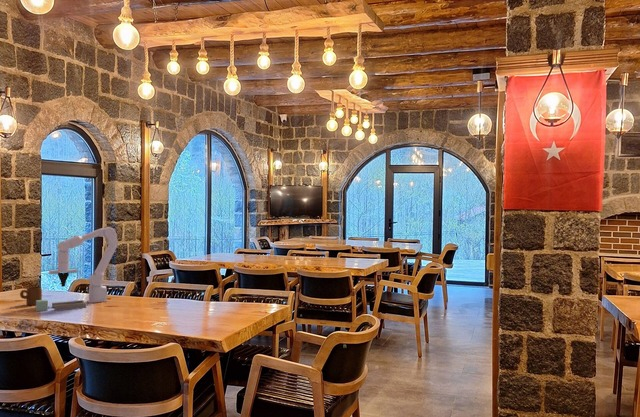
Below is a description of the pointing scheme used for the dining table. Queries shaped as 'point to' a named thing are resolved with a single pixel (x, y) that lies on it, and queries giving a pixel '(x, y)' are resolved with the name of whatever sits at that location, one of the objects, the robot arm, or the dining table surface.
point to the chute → (68, 305)
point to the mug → (32, 295)
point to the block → (41, 305)
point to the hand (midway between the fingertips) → (63, 286)
